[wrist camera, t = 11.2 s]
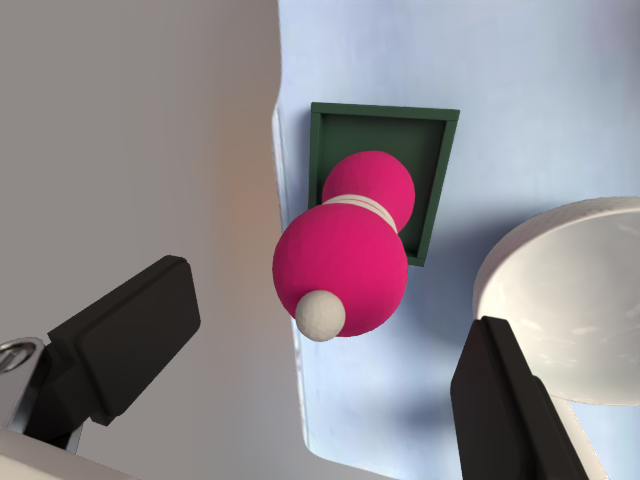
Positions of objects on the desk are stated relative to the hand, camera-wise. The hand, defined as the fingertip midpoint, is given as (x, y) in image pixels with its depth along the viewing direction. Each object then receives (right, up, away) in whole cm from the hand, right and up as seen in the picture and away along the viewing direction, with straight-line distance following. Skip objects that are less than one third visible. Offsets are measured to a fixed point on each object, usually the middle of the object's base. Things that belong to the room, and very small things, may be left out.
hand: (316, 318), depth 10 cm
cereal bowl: (+22, 0, +17) cm, 28 cm away
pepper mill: (+5, +8, +18) cm, 20 cm away
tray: (+5, +8, +18) cm, 20 cm away
